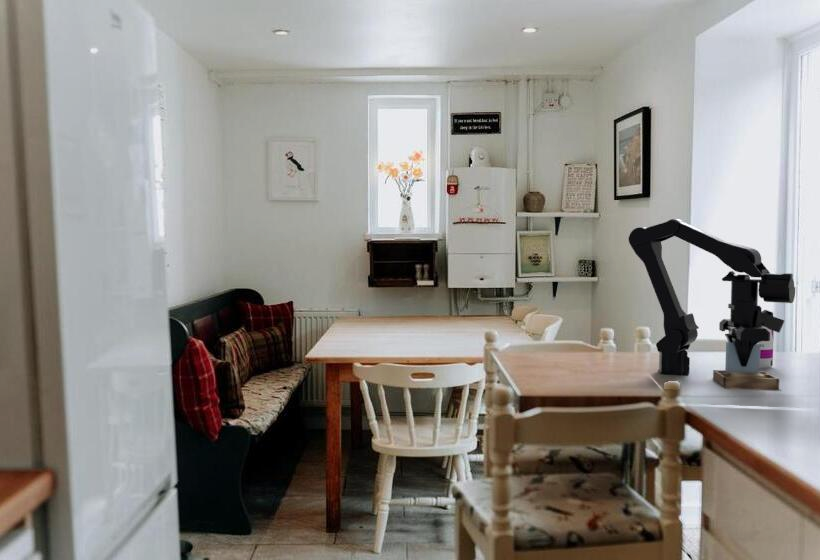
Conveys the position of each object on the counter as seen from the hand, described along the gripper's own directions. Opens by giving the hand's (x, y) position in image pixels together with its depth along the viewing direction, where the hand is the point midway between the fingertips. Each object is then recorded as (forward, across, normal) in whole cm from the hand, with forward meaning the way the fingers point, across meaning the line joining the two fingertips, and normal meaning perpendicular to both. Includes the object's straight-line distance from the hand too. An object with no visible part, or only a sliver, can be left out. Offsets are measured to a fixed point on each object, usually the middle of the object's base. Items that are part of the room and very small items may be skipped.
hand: (742, 365), depth 162 cm
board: (+4, 0, 0) cm, 4 cm away
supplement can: (+5, +23, -10) cm, 25 cm away
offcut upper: (+3, -4, 0) cm, 5 cm away
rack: (+4, -3, 0) cm, 5 cm away
